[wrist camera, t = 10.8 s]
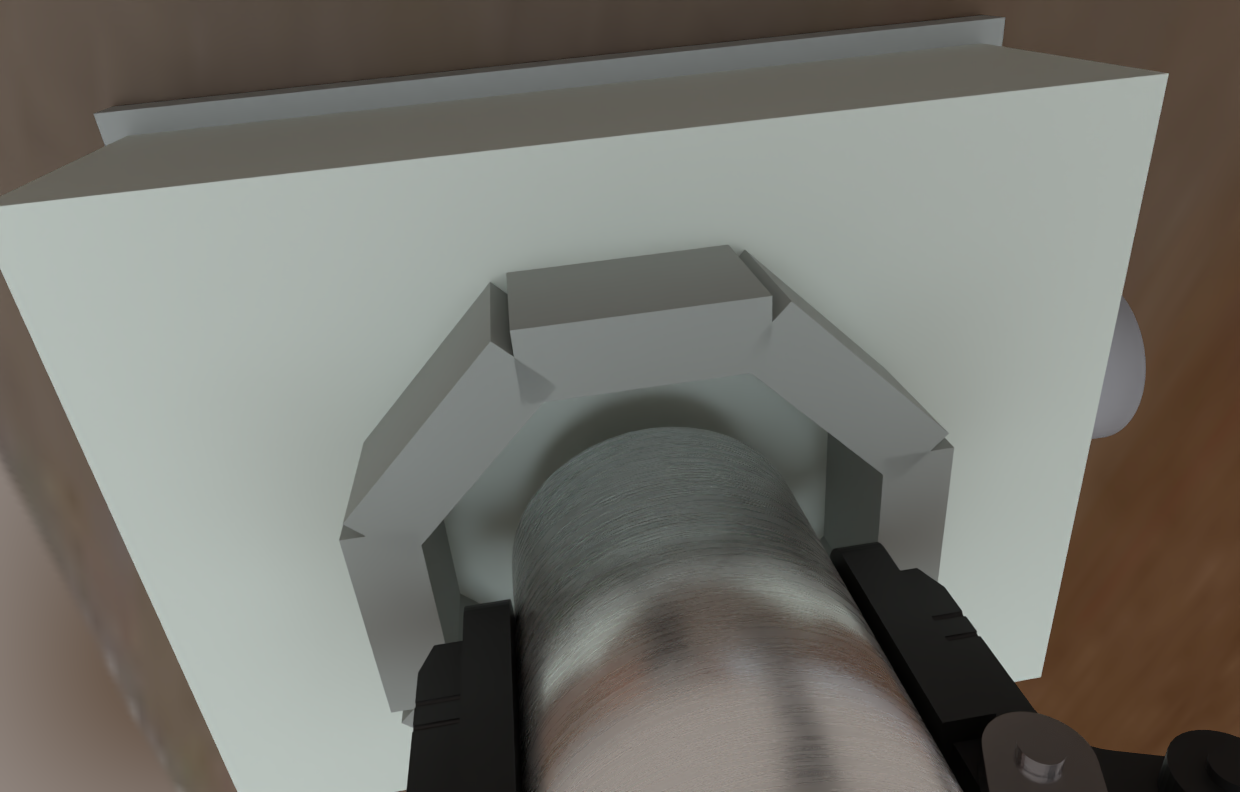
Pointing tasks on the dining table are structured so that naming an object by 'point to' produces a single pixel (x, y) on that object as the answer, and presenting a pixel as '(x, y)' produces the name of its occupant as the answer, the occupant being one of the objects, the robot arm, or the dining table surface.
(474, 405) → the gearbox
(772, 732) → the spout can
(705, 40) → the dining table surface
